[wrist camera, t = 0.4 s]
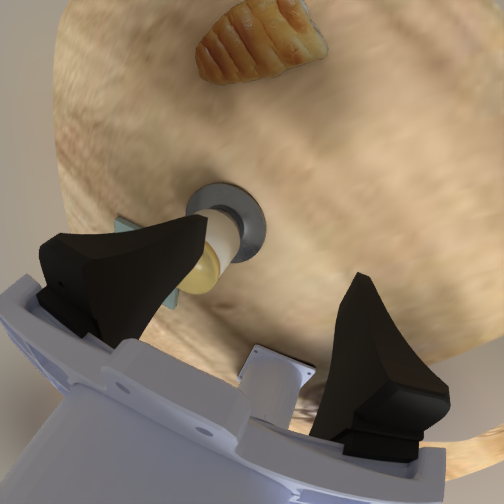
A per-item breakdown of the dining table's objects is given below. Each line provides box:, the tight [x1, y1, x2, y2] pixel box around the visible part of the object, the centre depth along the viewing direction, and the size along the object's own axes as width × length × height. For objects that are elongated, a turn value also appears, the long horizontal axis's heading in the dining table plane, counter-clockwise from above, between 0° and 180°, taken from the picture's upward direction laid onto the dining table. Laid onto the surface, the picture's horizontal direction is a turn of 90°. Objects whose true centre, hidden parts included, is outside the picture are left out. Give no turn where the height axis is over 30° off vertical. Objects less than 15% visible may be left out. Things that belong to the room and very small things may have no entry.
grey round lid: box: [186, 183, 266, 263], centre depth 23 cm, size 8×8×2 cm
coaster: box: [115, 217, 179, 310], centre depth 30 cm, size 9×9×1 cm
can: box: [177, 209, 240, 294], centre depth 21 cm, size 5×5×4 cm
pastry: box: [195, 0, 328, 85], centre depth 14 cm, size 9×7×4 cm
